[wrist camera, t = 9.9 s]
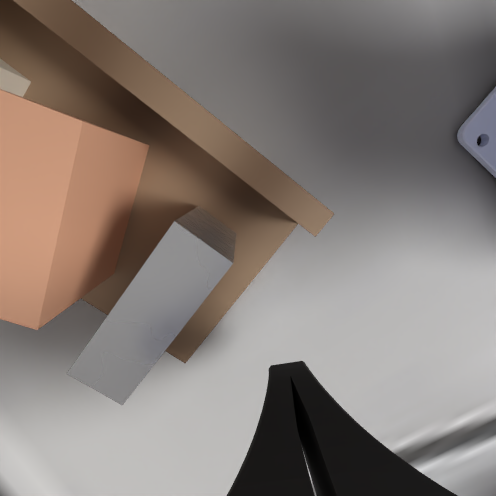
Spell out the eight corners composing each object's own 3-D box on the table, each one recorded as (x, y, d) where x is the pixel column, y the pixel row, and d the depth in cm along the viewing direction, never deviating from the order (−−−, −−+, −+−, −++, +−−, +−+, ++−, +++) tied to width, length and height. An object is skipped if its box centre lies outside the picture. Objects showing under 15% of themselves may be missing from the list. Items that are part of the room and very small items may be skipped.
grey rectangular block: (236, 233, 12) (232, 263, 8) (161, 331, 13) (122, 405, 9) (199, 205, 12) (174, 220, 8) (125, 308, 13) (66, 373, 9)
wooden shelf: (309, 204, 13) (375, 228, 7) (187, 356, 15) (145, 492, 8) (-70, -100, 10) (-616, -590, 4) (-164, 135, 12) (-643, 83, 5)
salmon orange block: (149, 145, 12) (83, 121, 7) (114, 273, 13) (37, 330, 8) (52, 108, 11) (-92, 54, 6) (26, 244, 13) (-111, 285, 8)
